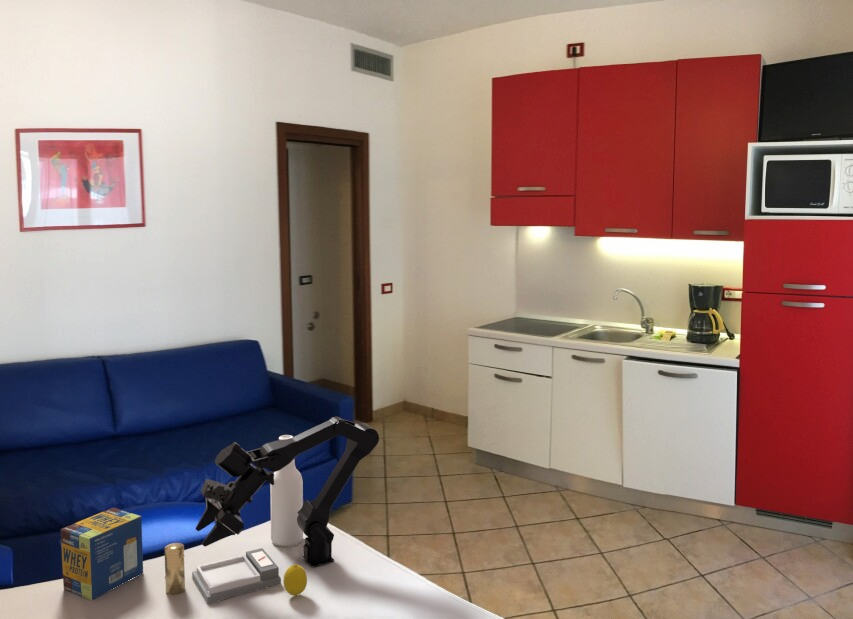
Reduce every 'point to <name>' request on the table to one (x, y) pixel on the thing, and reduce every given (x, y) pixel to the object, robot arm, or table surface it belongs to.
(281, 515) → the alcohol
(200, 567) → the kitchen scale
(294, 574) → the lemon
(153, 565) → the table surface
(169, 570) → the cylinder
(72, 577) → the protein box
